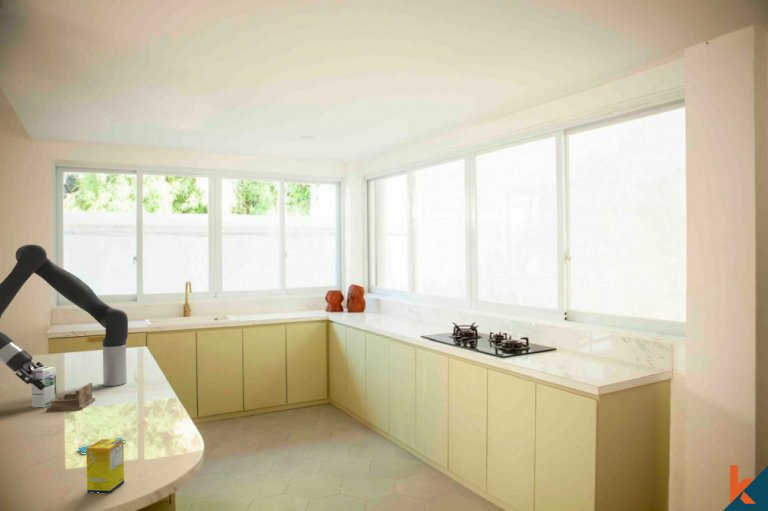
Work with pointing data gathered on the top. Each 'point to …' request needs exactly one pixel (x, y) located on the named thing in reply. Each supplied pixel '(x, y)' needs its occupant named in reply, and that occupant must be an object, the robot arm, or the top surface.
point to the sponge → (83, 449)
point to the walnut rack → (73, 400)
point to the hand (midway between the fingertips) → (48, 385)
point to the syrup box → (49, 391)
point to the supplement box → (105, 465)
